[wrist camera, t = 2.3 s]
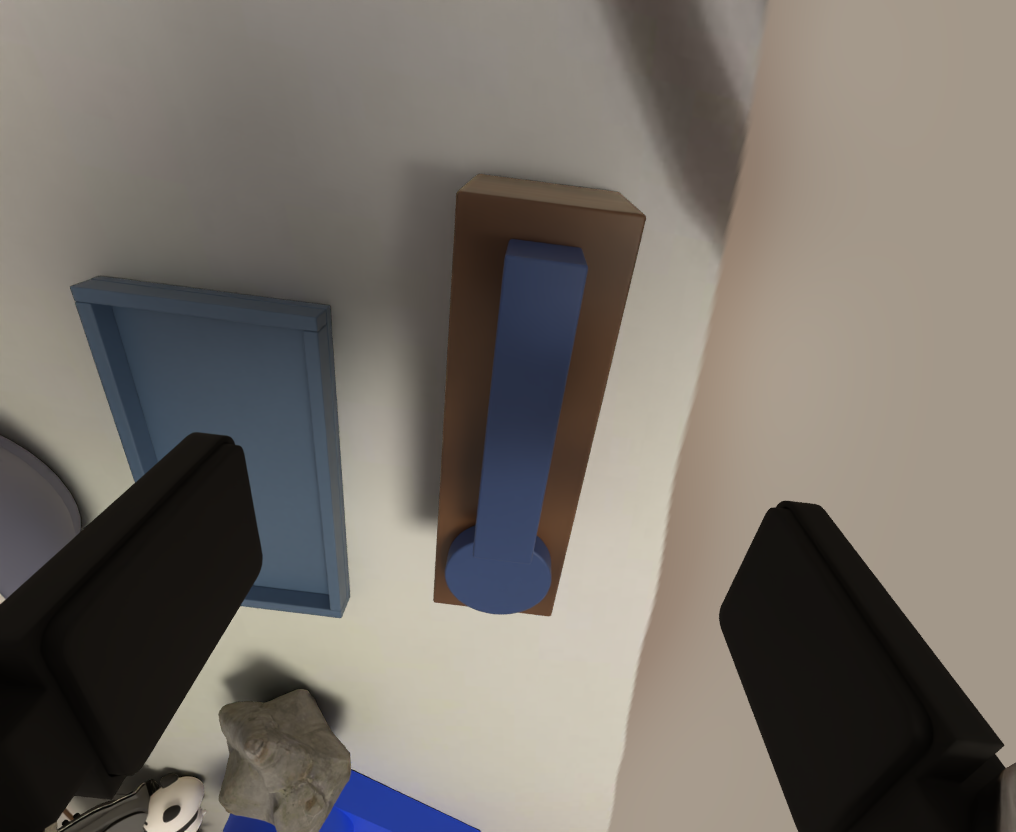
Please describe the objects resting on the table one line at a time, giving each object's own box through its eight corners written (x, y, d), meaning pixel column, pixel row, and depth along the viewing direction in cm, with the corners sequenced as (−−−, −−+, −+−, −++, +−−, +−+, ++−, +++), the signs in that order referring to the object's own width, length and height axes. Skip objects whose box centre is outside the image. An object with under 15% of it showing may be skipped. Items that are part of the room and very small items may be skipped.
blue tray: (98, 275, 20) (68, 286, 19) (330, 304, 20) (316, 317, 19) (189, 576, 29) (173, 598, 27) (350, 596, 29) (341, 618, 27)
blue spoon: (472, 233, 14) (462, 249, 12) (619, 252, 14) (631, 271, 12) (445, 588, 21) (437, 631, 19) (542, 600, 21) (542, 643, 19)
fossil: (210, 653, 32) (121, 798, 25) (345, 649, 31) (291, 798, 24) (272, 746, 38) (212, 886, 31) (389, 745, 37) (354, 889, 30)
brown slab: (476, 173, 17) (456, 190, 13) (620, 192, 17) (647, 215, 13) (451, 521, 25) (432, 602, 21) (549, 533, 25) (551, 617, 21)
